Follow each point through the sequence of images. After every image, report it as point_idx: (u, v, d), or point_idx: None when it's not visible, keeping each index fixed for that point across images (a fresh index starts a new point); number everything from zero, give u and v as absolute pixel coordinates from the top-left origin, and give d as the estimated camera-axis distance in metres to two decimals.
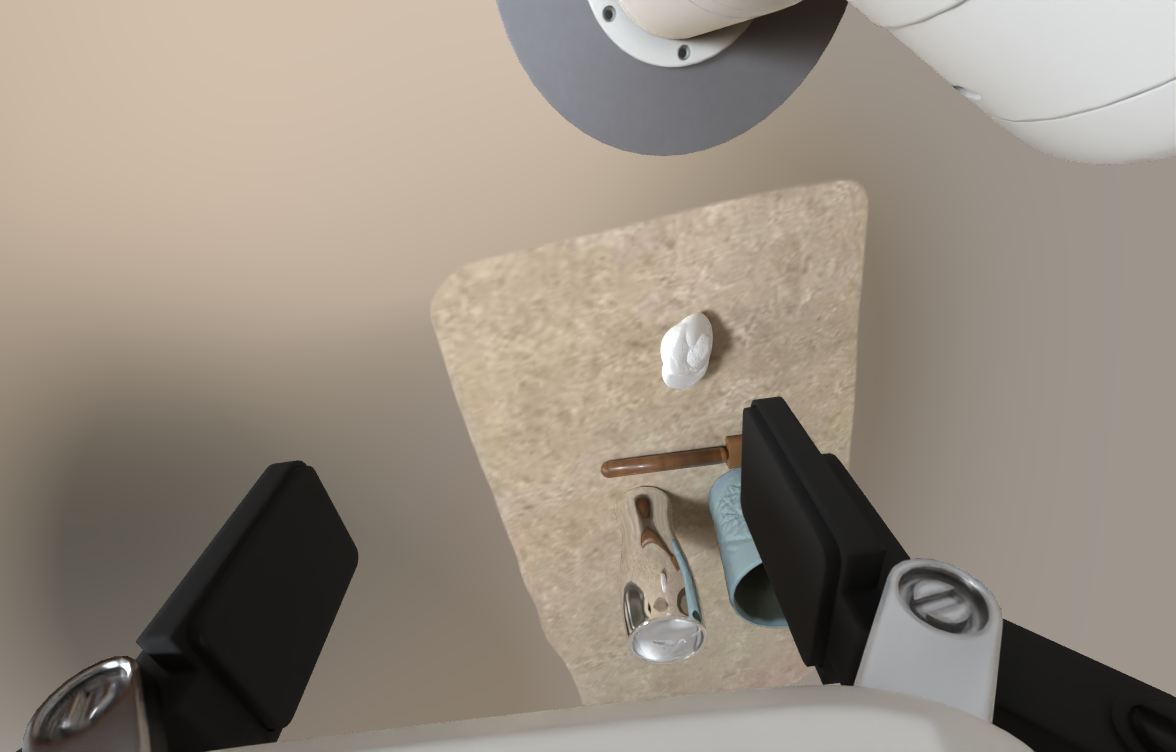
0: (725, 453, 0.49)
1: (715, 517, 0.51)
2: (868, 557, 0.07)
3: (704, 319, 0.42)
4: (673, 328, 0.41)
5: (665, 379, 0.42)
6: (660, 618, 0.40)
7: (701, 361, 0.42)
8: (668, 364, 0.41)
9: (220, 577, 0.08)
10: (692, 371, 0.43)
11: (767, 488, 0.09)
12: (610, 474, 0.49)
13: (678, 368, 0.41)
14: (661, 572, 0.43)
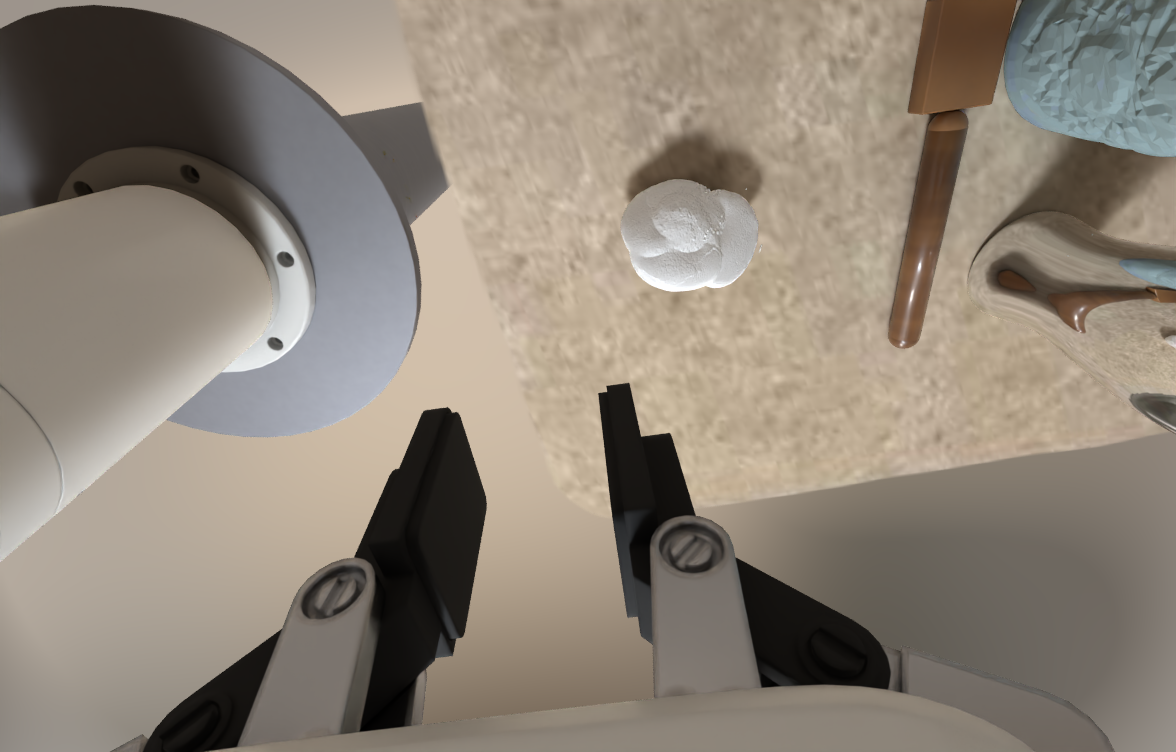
0: (944, 119, 0.23)
1: None
2: (642, 514, 0.08)
3: (633, 209, 0.25)
4: None
5: (725, 284, 0.25)
6: None
7: (702, 220, 0.24)
8: (693, 287, 0.24)
9: (418, 497, 0.09)
10: (722, 231, 0.24)
11: None
12: (911, 339, 0.29)
13: (705, 269, 0.24)
14: (1159, 365, 0.19)
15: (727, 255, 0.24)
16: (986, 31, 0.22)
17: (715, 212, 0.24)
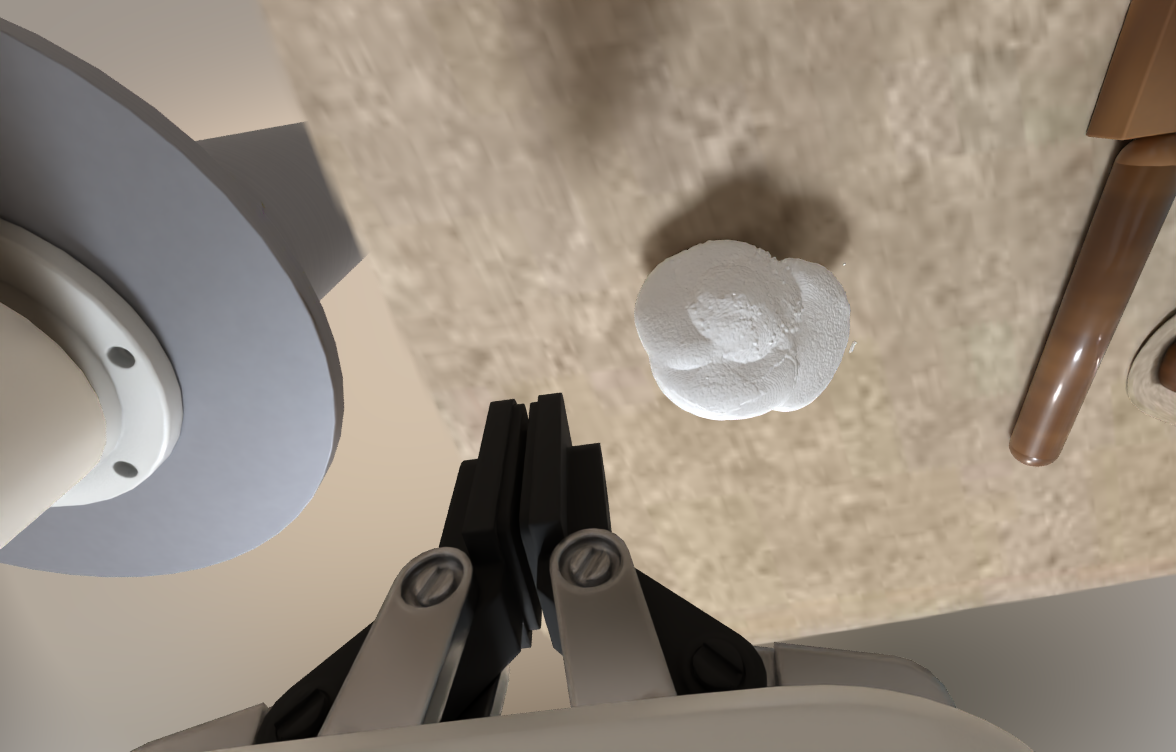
0: (1155, 148, 0.15)
1: None
2: (548, 527, 0.08)
3: (654, 289, 0.16)
4: None
5: (800, 407, 0.16)
6: None
7: (769, 312, 0.15)
8: (753, 416, 0.15)
9: (503, 486, 0.09)
10: (798, 327, 0.15)
11: None
12: (1050, 457, 0.20)
13: (772, 389, 0.15)
14: None
15: (806, 364, 0.15)
16: None
17: (788, 297, 0.15)
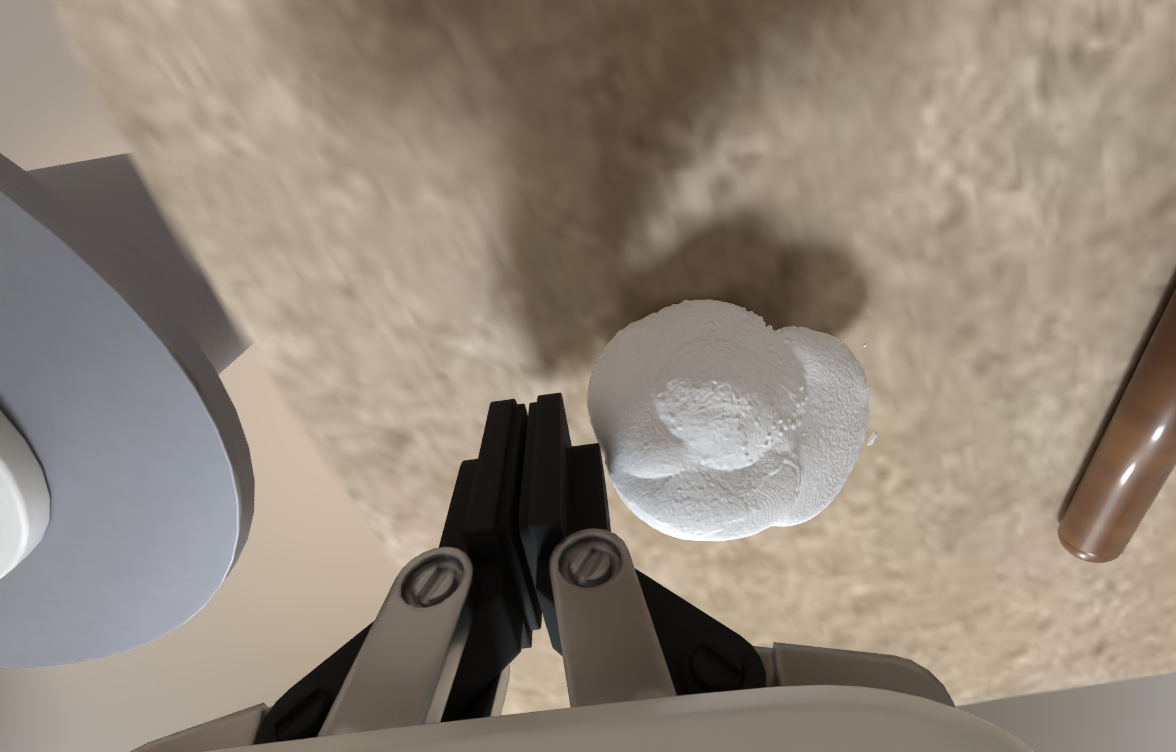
0: None
1: None
2: (547, 527, 0.08)
3: (612, 367, 0.12)
4: None
5: (804, 521, 0.12)
6: None
7: (762, 405, 0.11)
8: (741, 536, 0.11)
9: (503, 486, 0.09)
10: (801, 421, 0.11)
11: None
12: (1112, 554, 0.16)
13: (767, 506, 0.11)
14: None
15: (812, 469, 0.11)
16: None
17: (787, 381, 0.11)
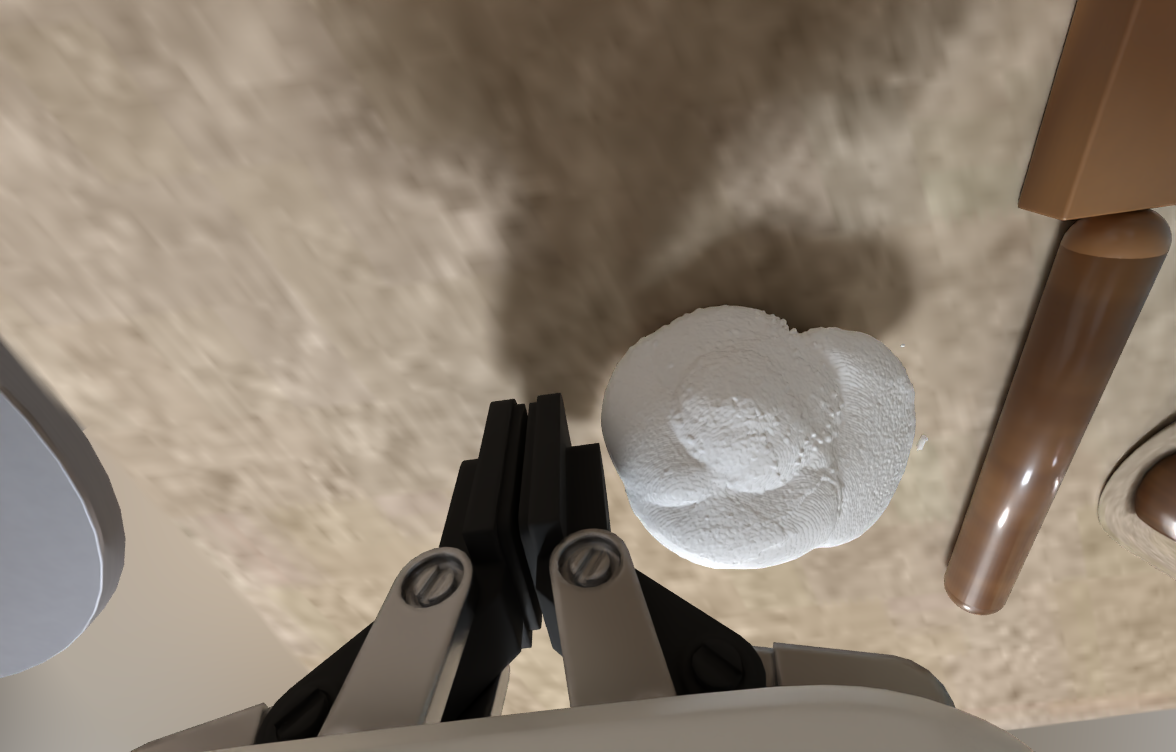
0: (1114, 232, 0.10)
1: None
2: (546, 527, 0.08)
3: (624, 388, 0.11)
4: None
5: None
6: None
7: (791, 420, 0.10)
8: (780, 562, 0.10)
9: (503, 486, 0.09)
10: (837, 432, 0.10)
11: None
12: (992, 607, 0.15)
13: (806, 529, 0.10)
14: None
15: (854, 484, 0.10)
16: None
17: (818, 390, 0.10)
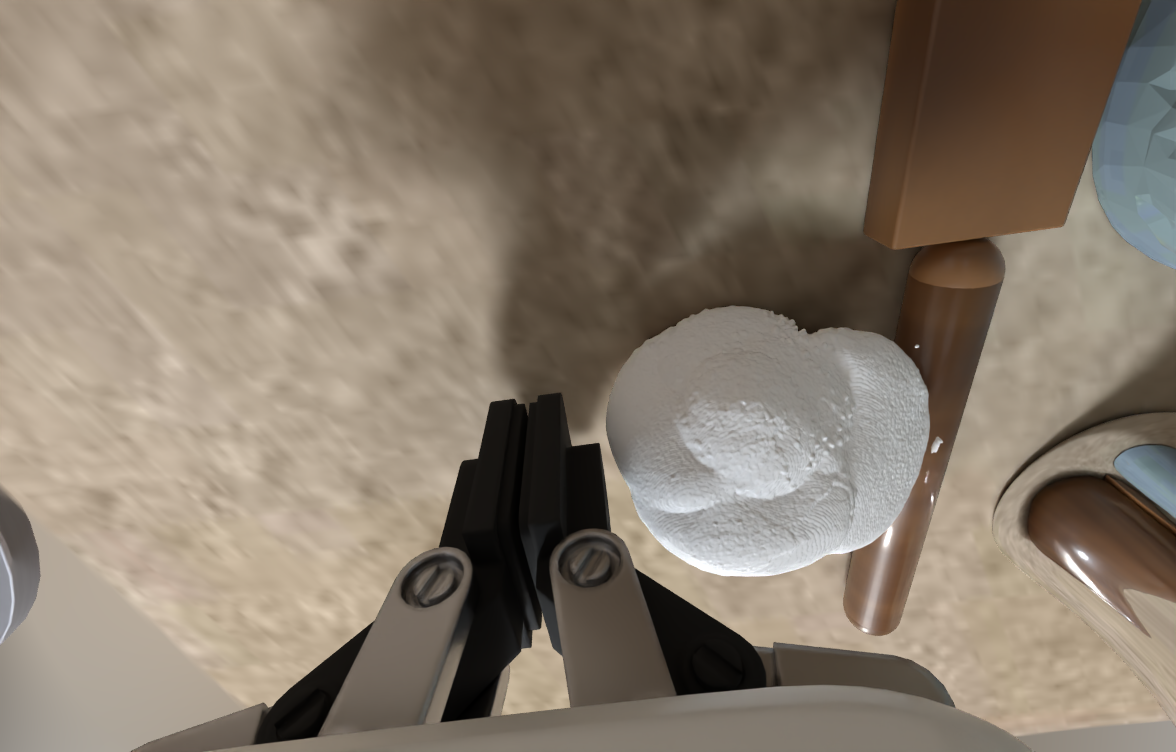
0: (947, 261, 0.10)
1: None
2: (547, 527, 0.08)
3: (630, 392, 0.11)
4: None
5: None
6: None
7: (802, 423, 0.10)
8: (791, 570, 0.10)
9: (503, 486, 0.09)
10: (849, 435, 0.10)
11: None
12: (884, 628, 0.15)
13: (817, 535, 0.10)
14: None
15: (867, 488, 0.10)
16: (1061, 52, 0.08)
17: (829, 392, 0.10)
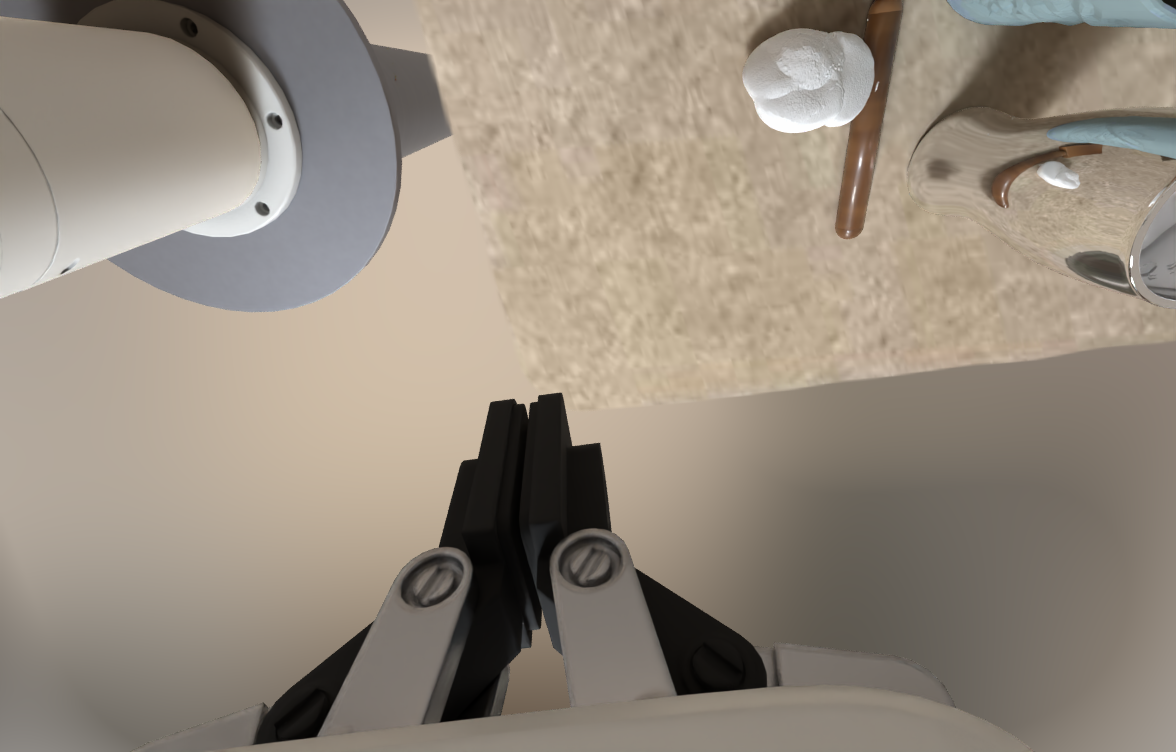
0: (881, 2, 0.26)
1: (1026, 21, 0.25)
2: (547, 527, 0.08)
3: (754, 59, 0.27)
4: None
5: (846, 121, 0.26)
6: (1135, 242, 0.18)
7: (825, 57, 0.25)
8: (818, 124, 0.26)
9: (503, 486, 0.09)
10: (842, 69, 0.26)
11: None
12: (855, 227, 0.31)
13: (829, 104, 0.26)
14: (1047, 201, 0.21)
15: (848, 91, 0.26)
16: None
17: (835, 50, 0.26)
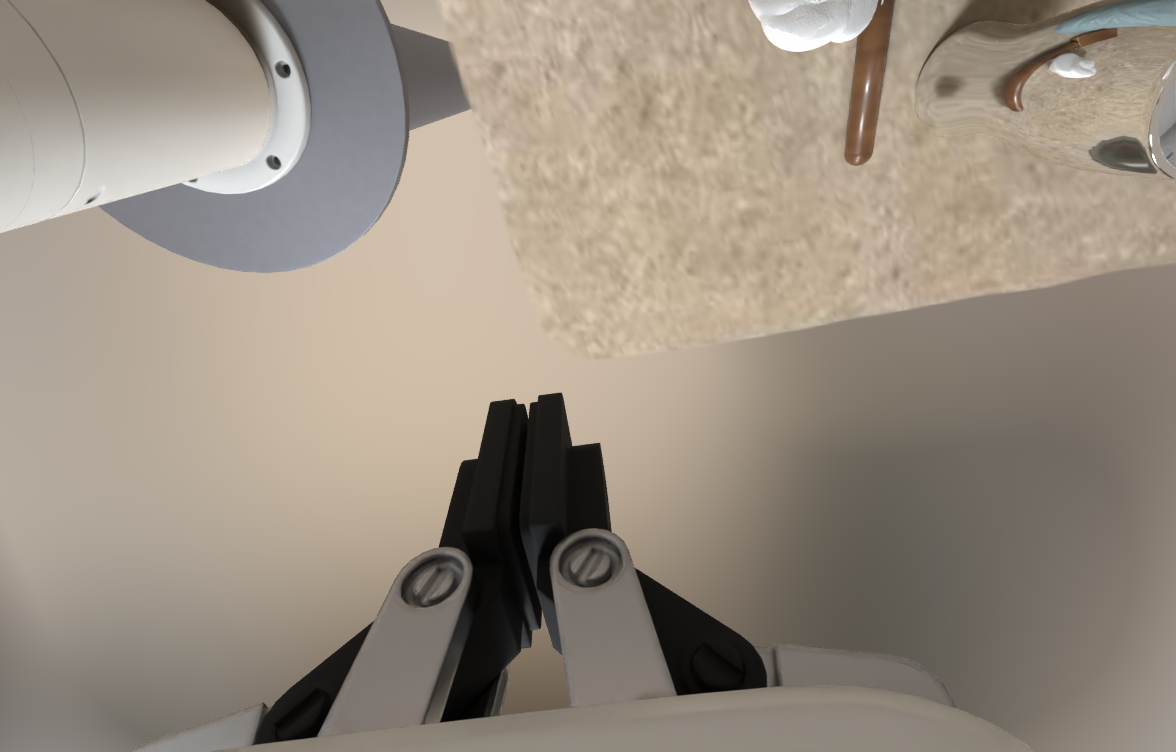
0: None
1: None
2: (547, 527, 0.08)
3: None
4: (768, 37, 0.27)
5: (854, 35, 0.26)
6: (1154, 111, 0.18)
7: None
8: (826, 38, 0.26)
9: (503, 486, 0.09)
10: None
11: None
12: (864, 151, 0.31)
13: (836, 16, 0.26)
14: (1061, 88, 0.21)
15: (855, 3, 0.26)
16: None
17: None
